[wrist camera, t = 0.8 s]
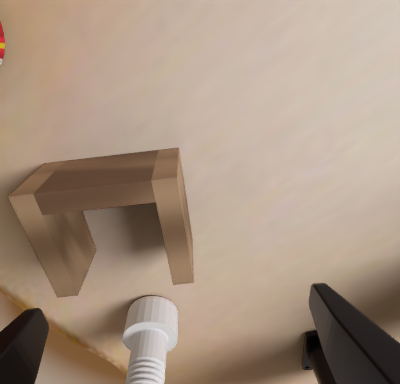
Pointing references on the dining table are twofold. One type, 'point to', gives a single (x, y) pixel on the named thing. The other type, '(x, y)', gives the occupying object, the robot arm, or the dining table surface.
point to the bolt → (150, 338)
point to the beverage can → (1, 44)
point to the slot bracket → (96, 199)
